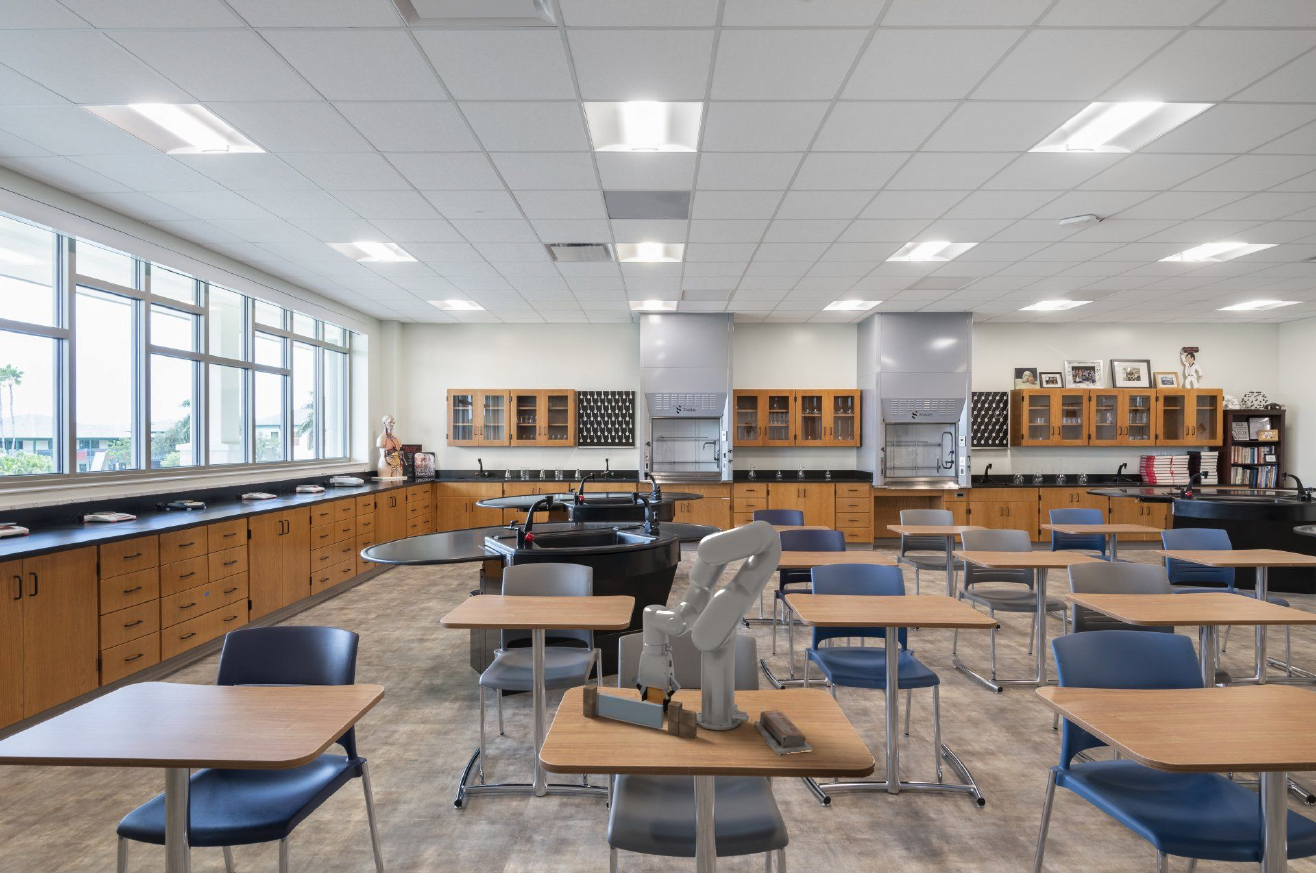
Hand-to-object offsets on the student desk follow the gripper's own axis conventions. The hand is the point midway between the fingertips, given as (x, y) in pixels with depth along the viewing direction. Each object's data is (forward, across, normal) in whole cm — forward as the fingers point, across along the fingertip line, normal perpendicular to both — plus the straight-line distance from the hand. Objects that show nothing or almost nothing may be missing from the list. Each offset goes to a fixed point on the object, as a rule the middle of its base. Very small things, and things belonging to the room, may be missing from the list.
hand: (656, 708), depth 187 cm
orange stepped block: (+1, 0, +1) cm, 2 cm away
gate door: (0, +3, +11) cm, 12 cm away
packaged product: (+2, -38, +1) cm, 38 cm away
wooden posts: (+1, +1, +11) cm, 11 cm away
